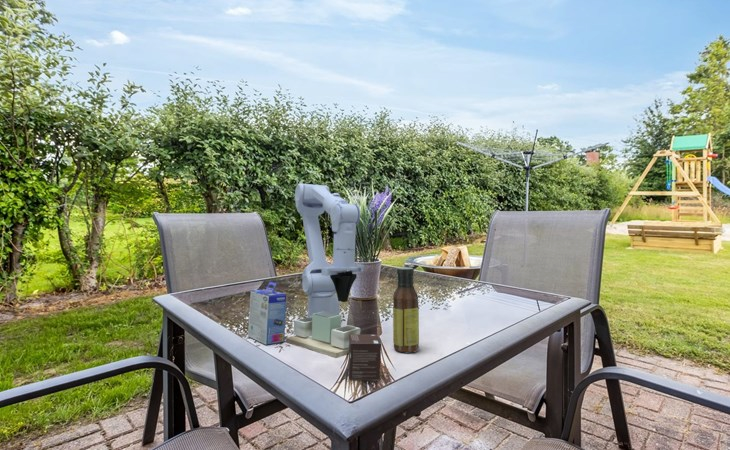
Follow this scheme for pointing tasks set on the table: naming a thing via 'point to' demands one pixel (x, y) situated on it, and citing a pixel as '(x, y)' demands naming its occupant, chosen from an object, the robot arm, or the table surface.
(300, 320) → the board
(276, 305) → the ink cartridge box
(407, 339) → the sauce bottle
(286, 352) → the table surface
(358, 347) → the box
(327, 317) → the block
